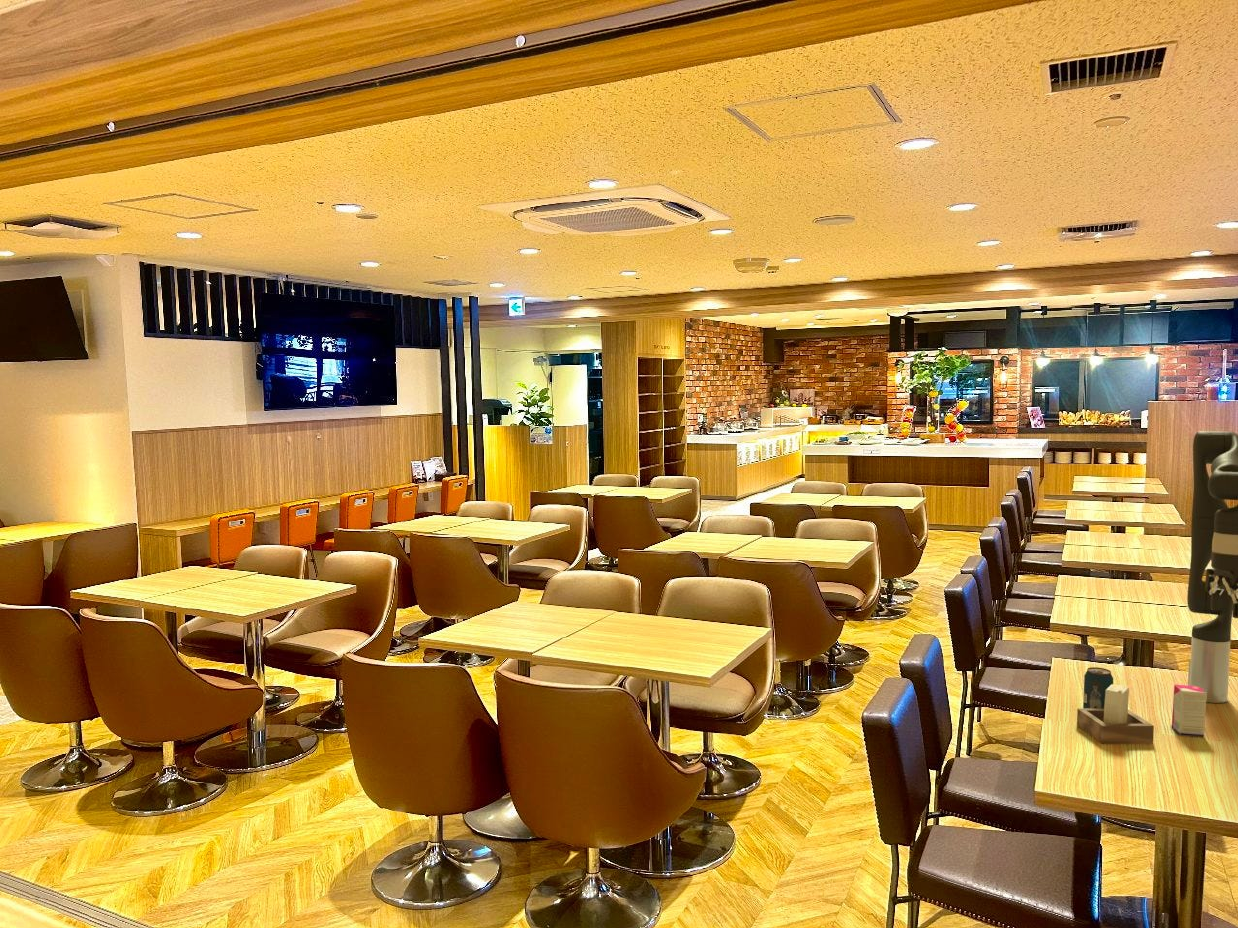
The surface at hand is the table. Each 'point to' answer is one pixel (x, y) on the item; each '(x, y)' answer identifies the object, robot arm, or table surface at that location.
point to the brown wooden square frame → (1115, 728)
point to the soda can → (1096, 687)
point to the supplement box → (1189, 710)
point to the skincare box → (1116, 704)
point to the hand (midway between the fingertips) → (1226, 613)
